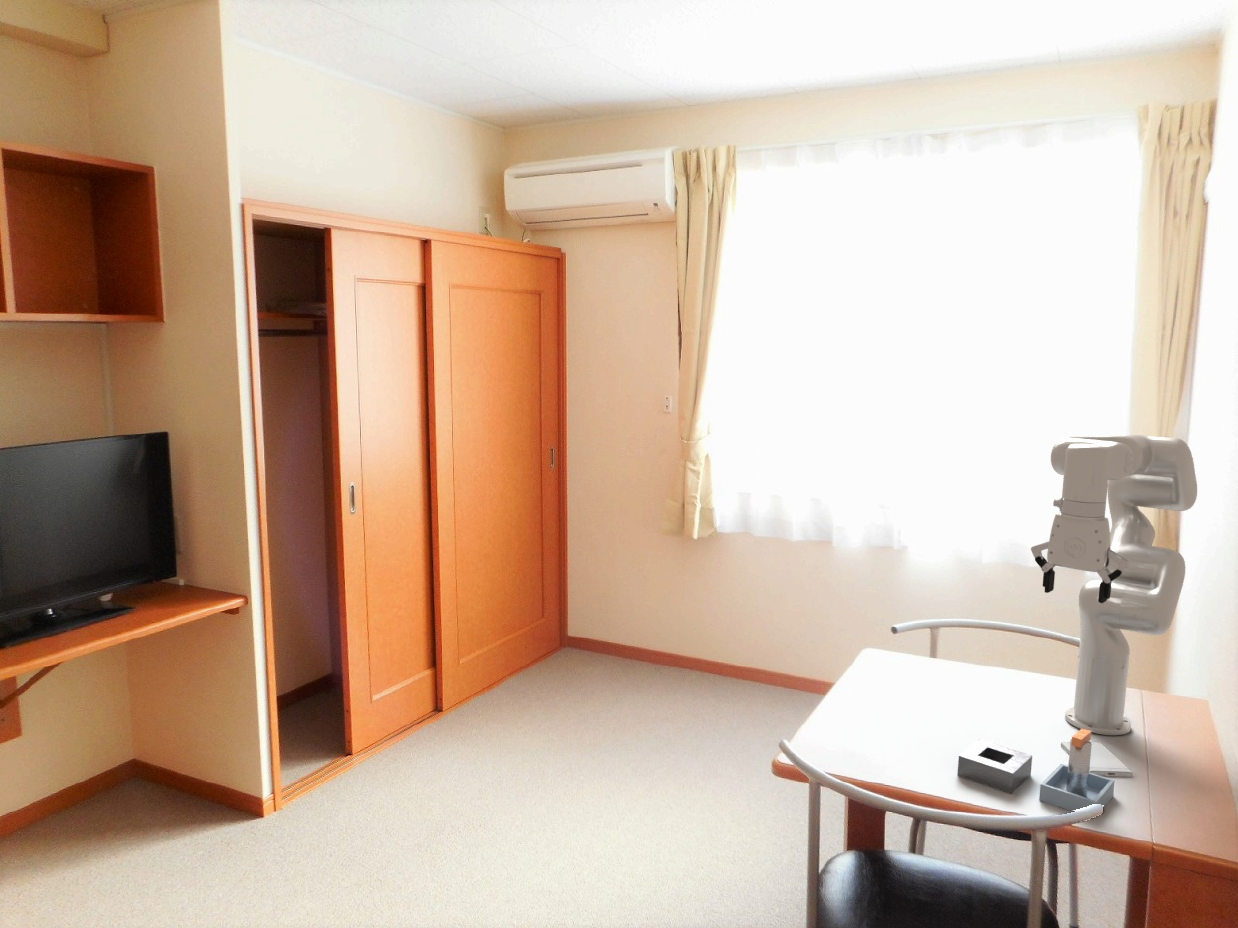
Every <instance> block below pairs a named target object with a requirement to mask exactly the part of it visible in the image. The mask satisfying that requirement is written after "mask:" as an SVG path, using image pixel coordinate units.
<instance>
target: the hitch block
mask: <svg viewBox="0 0 1238 928" xmlns="http://www.w3.org/2000/svg"><path fill="white" fill-rule="evenodd" d="M1032 762H1033V755H1032V754H1028V753H1026V752H1023V751H1019V750H1017V749H1013V748H1009V747H1006V746H1002V745H1000V744H996V743H994V742H991V741H987V740H984V739H981V738H979V739H978V740H977V741H975V742H973V744H972V745H970V746H969V747H968V748H966V749H965V750H964V751H963V752H961V753H960V754H958V763H957V776H958V777H960V778H964V779H966V780H969V781H971V782H976V783H977V784H978V783H979V784H981V785H984V786H987V787H989V788H993V789H995V790H998V791H1002V792H1004V793H1007V794H1010V795H1012V794H1013V793H1014V792H1016V790H1017V789H1019V787H1020V786H1021V785H1022V784H1023V783H1024V782H1026V781H1027V780H1028V779H1029V778H1030V776H1031V775H1032Z"/></svg>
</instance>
